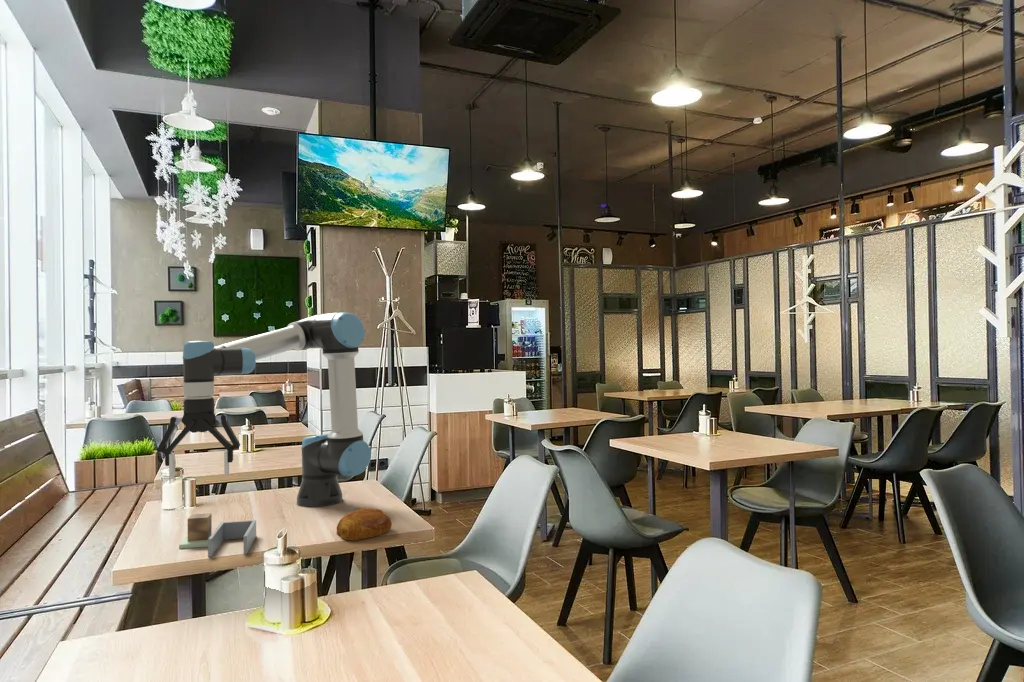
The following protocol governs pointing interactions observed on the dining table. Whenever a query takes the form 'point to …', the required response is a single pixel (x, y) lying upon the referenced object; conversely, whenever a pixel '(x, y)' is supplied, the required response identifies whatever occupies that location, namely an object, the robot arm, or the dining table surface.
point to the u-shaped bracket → (232, 534)
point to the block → (199, 527)
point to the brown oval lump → (363, 524)
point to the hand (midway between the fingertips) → (199, 476)
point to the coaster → (193, 543)
